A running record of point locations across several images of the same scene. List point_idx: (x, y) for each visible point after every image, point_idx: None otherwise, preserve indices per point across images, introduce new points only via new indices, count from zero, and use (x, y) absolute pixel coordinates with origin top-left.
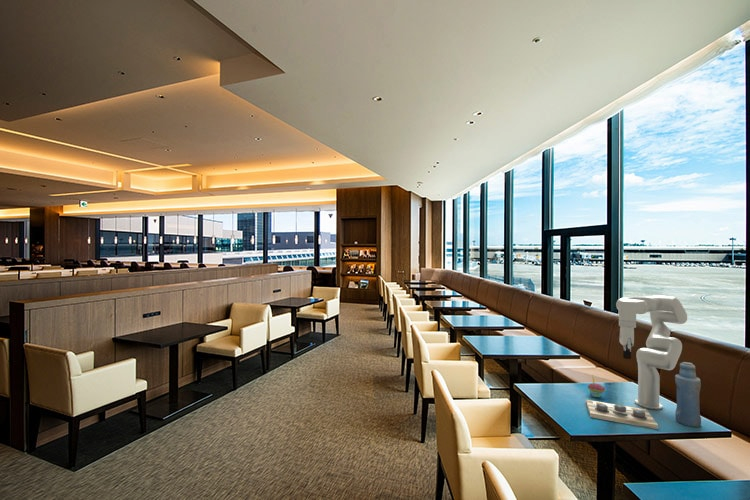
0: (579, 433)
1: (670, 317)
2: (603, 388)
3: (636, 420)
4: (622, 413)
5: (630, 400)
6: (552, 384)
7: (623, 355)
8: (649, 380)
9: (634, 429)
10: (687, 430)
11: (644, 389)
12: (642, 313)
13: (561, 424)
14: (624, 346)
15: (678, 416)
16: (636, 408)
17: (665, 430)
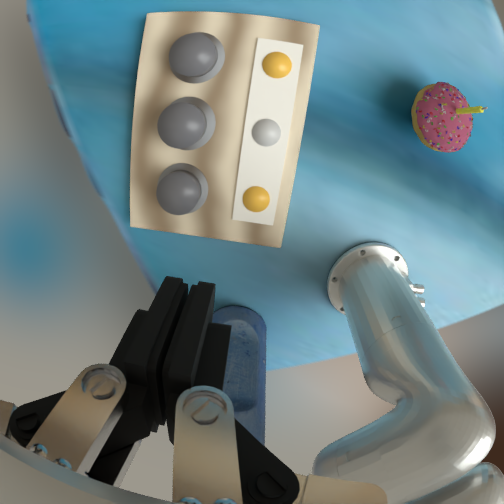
0: (31, 2)
1: None
2: (431, 142)
3: (138, 166)
4: None
5: (404, 236)
6: (487, 3)
7: (191, 302)
8: (366, 345)
9: (100, 144)
10: None
11: (366, 300)
12: None
13: None
14: (80, 450)
15: (223, 318)
16: (271, 210)
17: (138, 240)
